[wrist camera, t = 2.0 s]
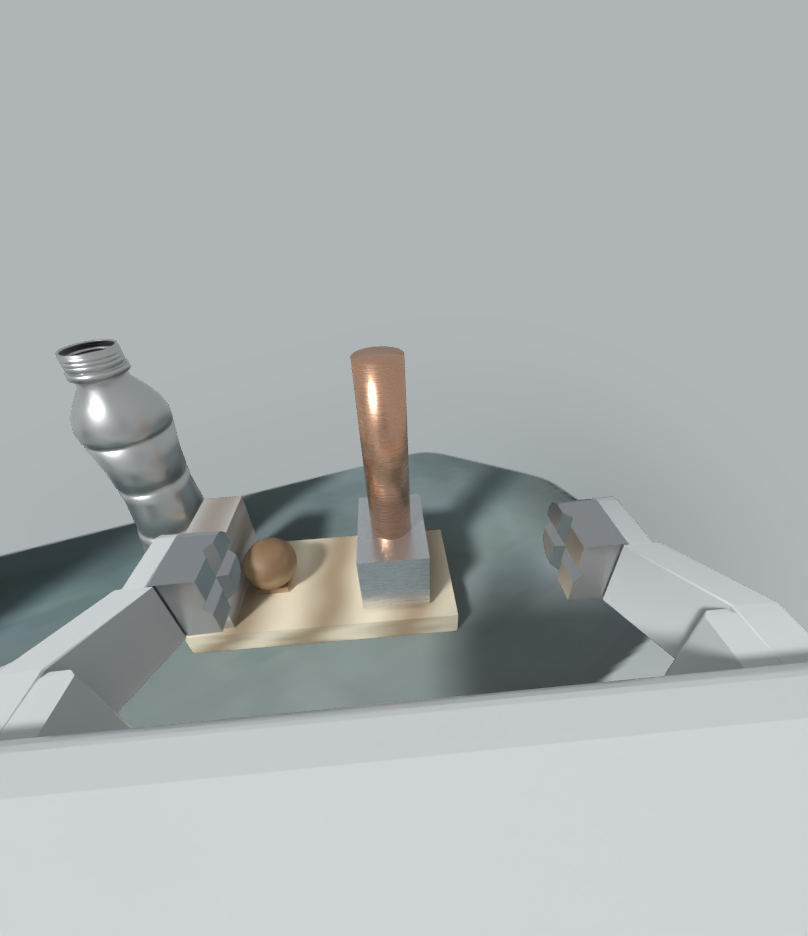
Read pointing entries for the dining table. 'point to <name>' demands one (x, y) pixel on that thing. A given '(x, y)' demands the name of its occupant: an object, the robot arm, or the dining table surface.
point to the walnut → (270, 565)
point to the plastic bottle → (130, 438)
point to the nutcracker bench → (315, 592)
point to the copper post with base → (387, 487)
